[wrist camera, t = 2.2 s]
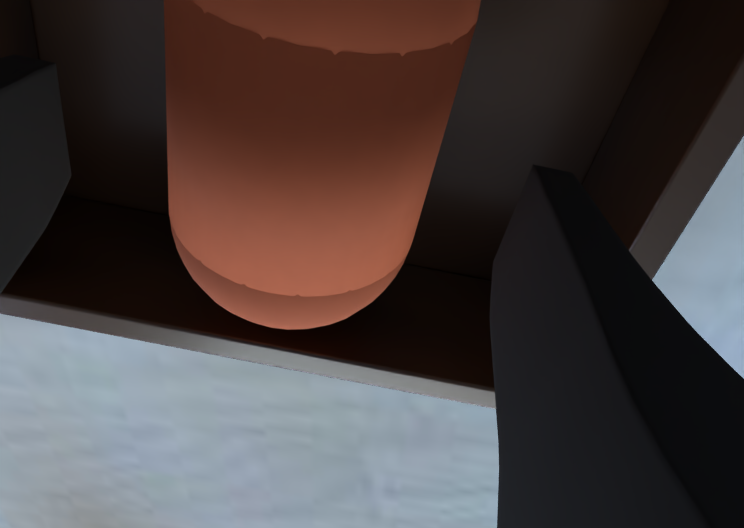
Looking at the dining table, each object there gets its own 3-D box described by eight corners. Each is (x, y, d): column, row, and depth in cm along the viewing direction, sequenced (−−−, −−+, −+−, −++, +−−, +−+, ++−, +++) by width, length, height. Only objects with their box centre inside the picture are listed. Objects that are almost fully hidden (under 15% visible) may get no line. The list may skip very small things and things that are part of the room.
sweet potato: (398, 242, 17) (381, 400, 14) (205, 203, 17) (137, 354, 14) (519, -200, 11) (544, -116, 8) (215, -272, 11) (94, -220, 7)
